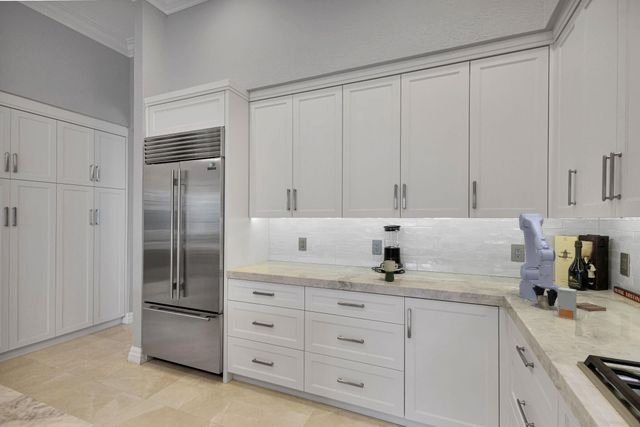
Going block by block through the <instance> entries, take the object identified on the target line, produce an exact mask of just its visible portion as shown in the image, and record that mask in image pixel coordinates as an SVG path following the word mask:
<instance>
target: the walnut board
mask: <svg viewBox="0 0 640 427" xmlns="http://www.w3.org/2000/svg"><path fill="white" fill-rule="evenodd" d="M576 309H579V310H583V311H586V312H591V313H592V312H606V311H607V307H605V306H601V305H598V304H593V303H590V302H576Z"/></svg>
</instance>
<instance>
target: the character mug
mask: <svg viewBox="0 0 640 427" xmlns="http://www.w3.org/2000/svg"><path fill="white" fill-rule="evenodd" d="M380 268H381V269H382V270H383V271H385V275H384V280H385V281H387V282H388V281H389V282H392V281H395V273H394V272H395V271H396V270H398V269H399V264H398V263H396V261H395V260H383V263H381V267H380Z"/></svg>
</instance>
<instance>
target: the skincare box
mask: <svg viewBox="0 0 640 427" xmlns="http://www.w3.org/2000/svg"><path fill="white" fill-rule="evenodd" d="M556 301H557V306H556V307H557V310H556V311H557V314H556V315H557V316H556V317H557V318H563V319H567V320H568V319H569V320H576V319H577V308H576V303H577V289H574V288H567V287H566V288H565V287H561V288H558V294H557V299H556Z"/></svg>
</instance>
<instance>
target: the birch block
mask: <svg viewBox="0 0 640 427" xmlns="http://www.w3.org/2000/svg"><path fill="white" fill-rule="evenodd" d="M537 305H538V307H541V308H545V309H548V308H554V307H555V305H554V306H549V302H548V295H547V294H546V295H545V294H544V295H541V296H538V300H537Z"/></svg>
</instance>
